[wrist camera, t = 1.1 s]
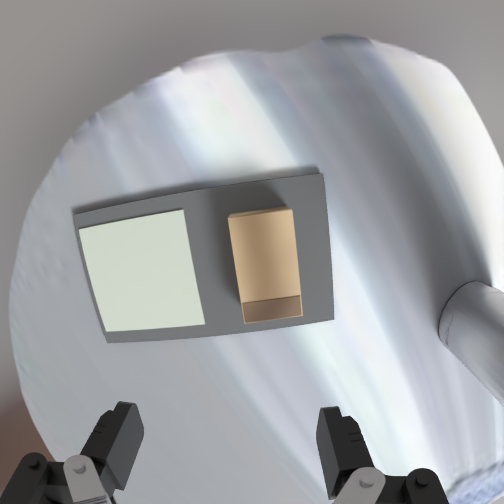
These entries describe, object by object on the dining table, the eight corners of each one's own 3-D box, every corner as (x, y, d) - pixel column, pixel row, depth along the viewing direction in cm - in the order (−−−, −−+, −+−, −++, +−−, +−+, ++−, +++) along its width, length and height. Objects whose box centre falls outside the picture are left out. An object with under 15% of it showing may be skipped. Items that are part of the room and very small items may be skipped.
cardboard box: (287, 206, 26) (292, 209, 23) (297, 302, 29) (302, 316, 26) (230, 213, 26) (227, 218, 24) (244, 309, 29) (244, 324, 26)
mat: (321, 173, 26) (323, 173, 26) (333, 317, 30) (334, 320, 29) (75, 214, 27) (71, 215, 26) (108, 340, 30) (106, 343, 29)
